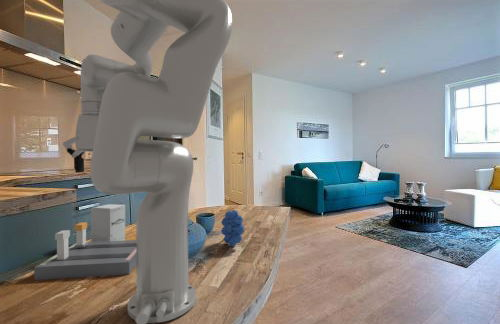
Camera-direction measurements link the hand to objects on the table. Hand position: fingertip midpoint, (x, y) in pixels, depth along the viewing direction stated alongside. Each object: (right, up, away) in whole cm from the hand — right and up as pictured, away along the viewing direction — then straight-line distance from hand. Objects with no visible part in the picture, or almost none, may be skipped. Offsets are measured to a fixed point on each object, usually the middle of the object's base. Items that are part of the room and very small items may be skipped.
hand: (98, 171), depth 68 cm
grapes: (+38, -25, +11) cm, 47 cm away
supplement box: (-5, -25, +13) cm, 29 cm away
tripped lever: (-6, -21, +1) cm, 22 cm away
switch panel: (+2, -25, -2) cm, 25 cm away
